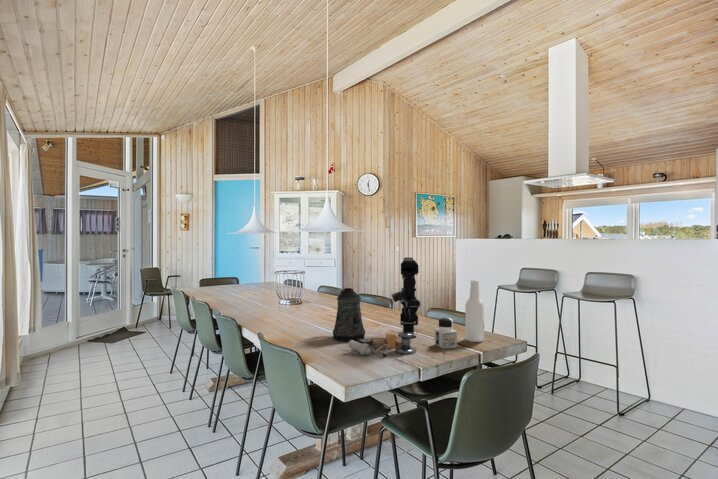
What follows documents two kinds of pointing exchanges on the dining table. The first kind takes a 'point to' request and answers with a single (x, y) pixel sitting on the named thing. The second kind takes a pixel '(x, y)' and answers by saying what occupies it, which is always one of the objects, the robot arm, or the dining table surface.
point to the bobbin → (405, 343)
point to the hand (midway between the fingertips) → (409, 318)
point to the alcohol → (474, 315)
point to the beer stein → (348, 317)
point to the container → (446, 334)
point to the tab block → (391, 340)
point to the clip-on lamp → (363, 346)
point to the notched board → (383, 342)
